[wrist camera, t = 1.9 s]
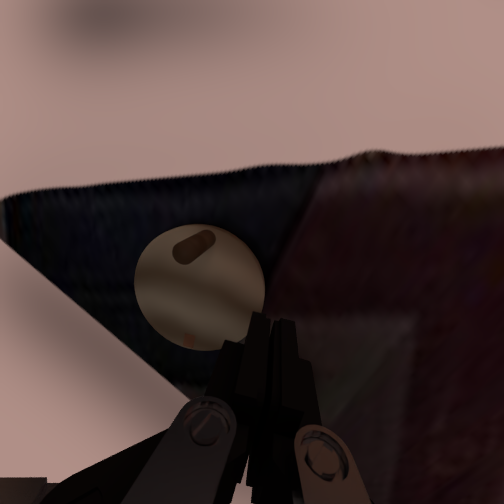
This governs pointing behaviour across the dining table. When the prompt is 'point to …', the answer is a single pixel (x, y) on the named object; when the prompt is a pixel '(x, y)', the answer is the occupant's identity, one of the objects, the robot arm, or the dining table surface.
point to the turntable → (199, 286)
